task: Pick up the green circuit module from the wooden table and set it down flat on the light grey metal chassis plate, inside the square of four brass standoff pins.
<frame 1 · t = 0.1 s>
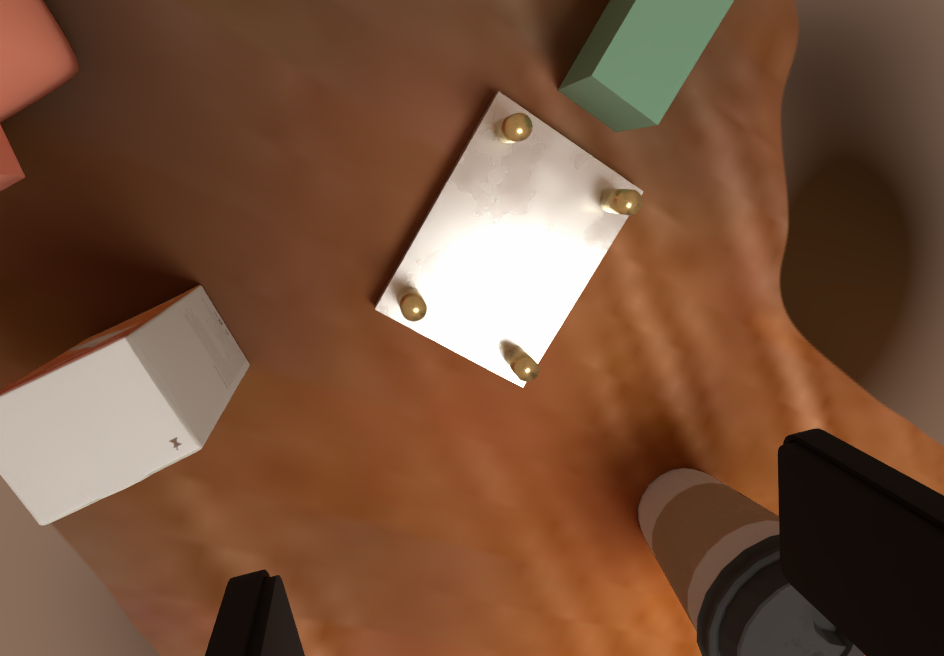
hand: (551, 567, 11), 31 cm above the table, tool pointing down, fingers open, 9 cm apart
small box: (171, 350, 39), on the table
chassis plate: (507, 247, 41), on the table
circuit module: (622, 51, 39), on the table
coffee cup: (675, 504, 49), on the table
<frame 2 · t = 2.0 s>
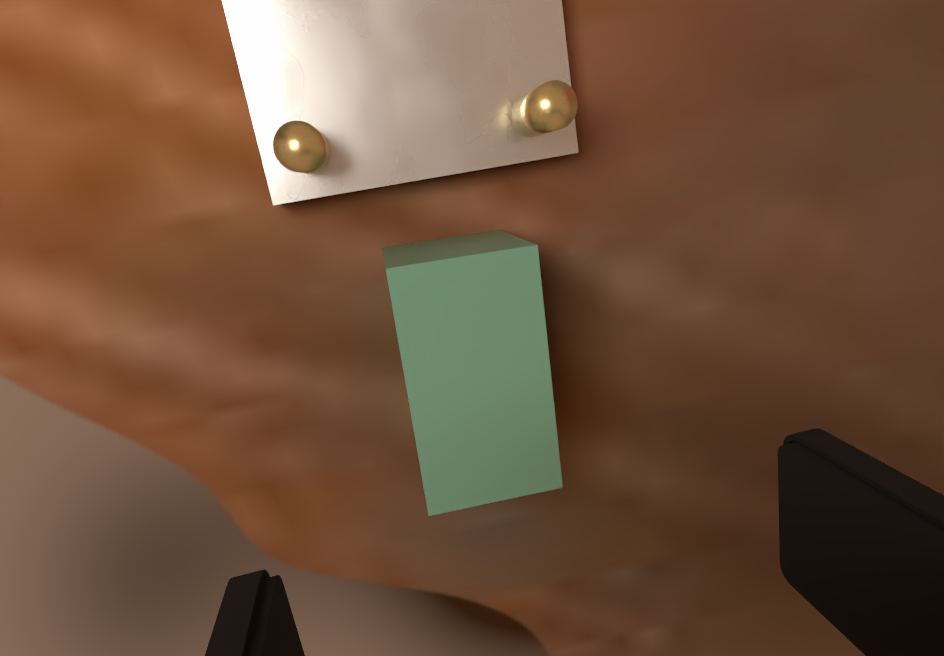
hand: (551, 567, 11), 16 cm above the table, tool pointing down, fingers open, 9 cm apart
circuit module: (456, 340, 26), on the table
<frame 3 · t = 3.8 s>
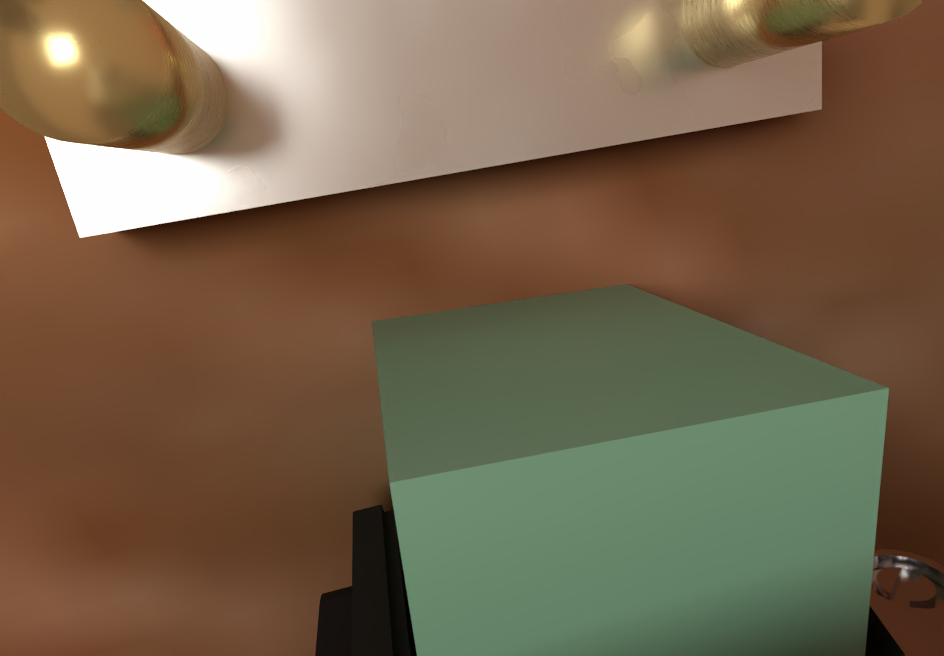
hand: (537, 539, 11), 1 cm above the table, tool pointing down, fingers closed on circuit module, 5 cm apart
circuit module: (523, 509, 12), on the table, touching gripper
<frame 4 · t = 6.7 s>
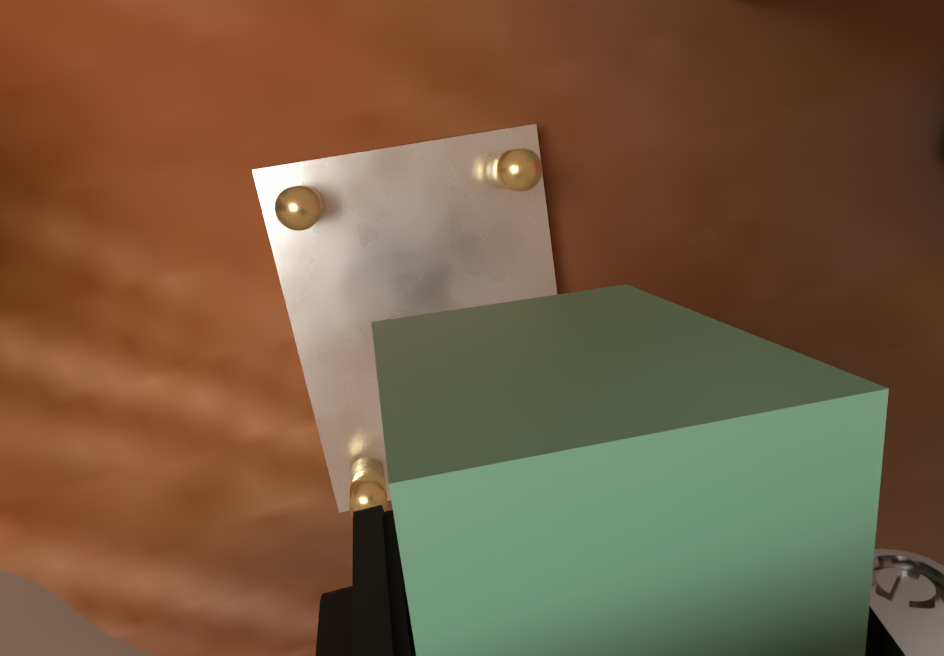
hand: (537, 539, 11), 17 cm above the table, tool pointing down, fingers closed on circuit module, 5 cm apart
chassis plate: (429, 322, 28), on the table
circuit module: (522, 509, 12), point 16 cm above the table, touching gripper
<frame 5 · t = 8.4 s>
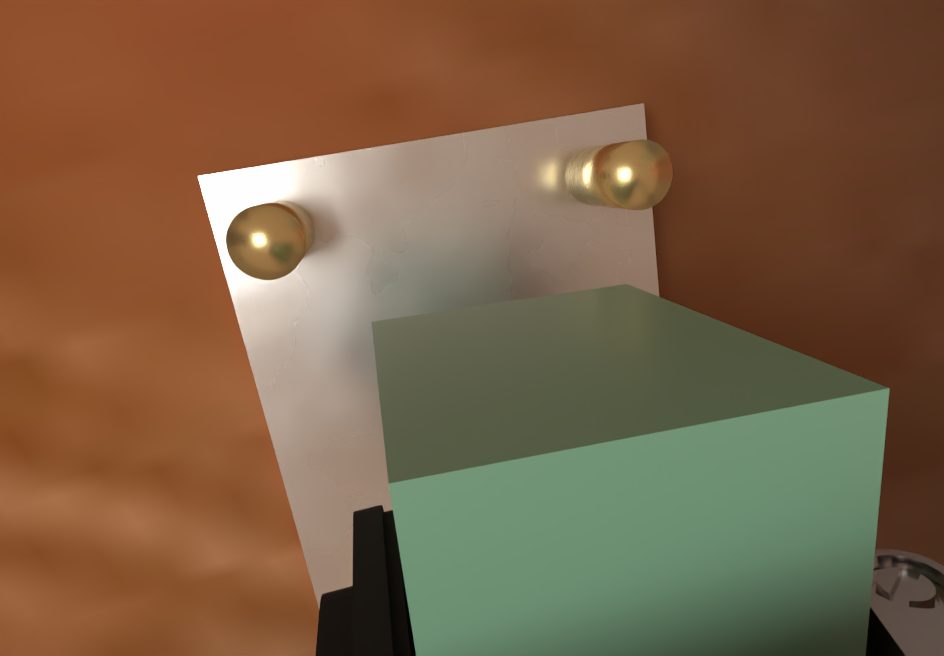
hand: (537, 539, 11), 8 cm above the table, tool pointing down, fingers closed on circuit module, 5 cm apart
chassis plate: (472, 399, 19), on the table
circuit module: (522, 509, 12), point 7 cm above the table, touching gripper
when the fingers open (4 cm above the table, at t = 9.6 s): circuit module drops 2 cm, resting on chassis plate.
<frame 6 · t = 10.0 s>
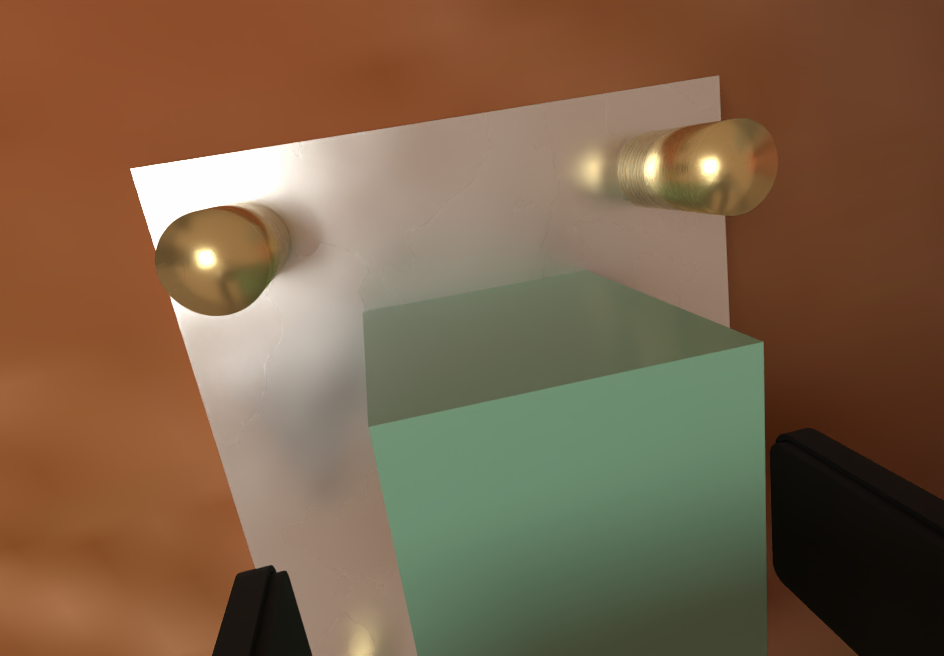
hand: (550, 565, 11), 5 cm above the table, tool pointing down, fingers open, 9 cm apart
chassis plate: (492, 449, 15), on the table
circuit module: (505, 473, 14), point 1 cm above the table, touching chassis plate
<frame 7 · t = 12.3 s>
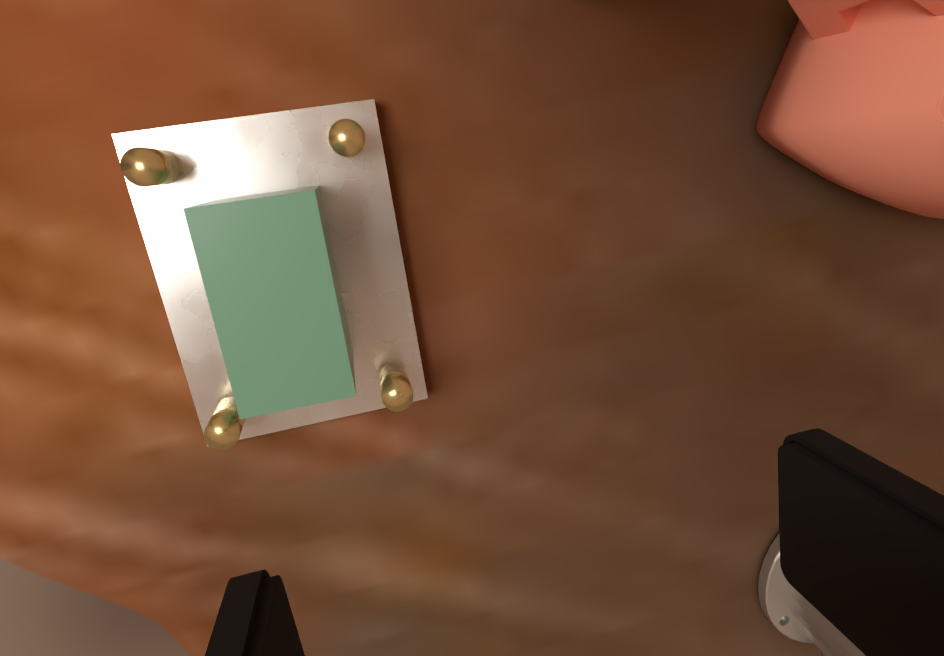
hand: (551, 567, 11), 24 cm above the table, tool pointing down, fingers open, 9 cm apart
teapot: (858, 90, 36), on the table
chassis plate: (289, 276, 31), on the table
circuit module: (287, 281, 30), point 1 cm above the table, touching chassis plate
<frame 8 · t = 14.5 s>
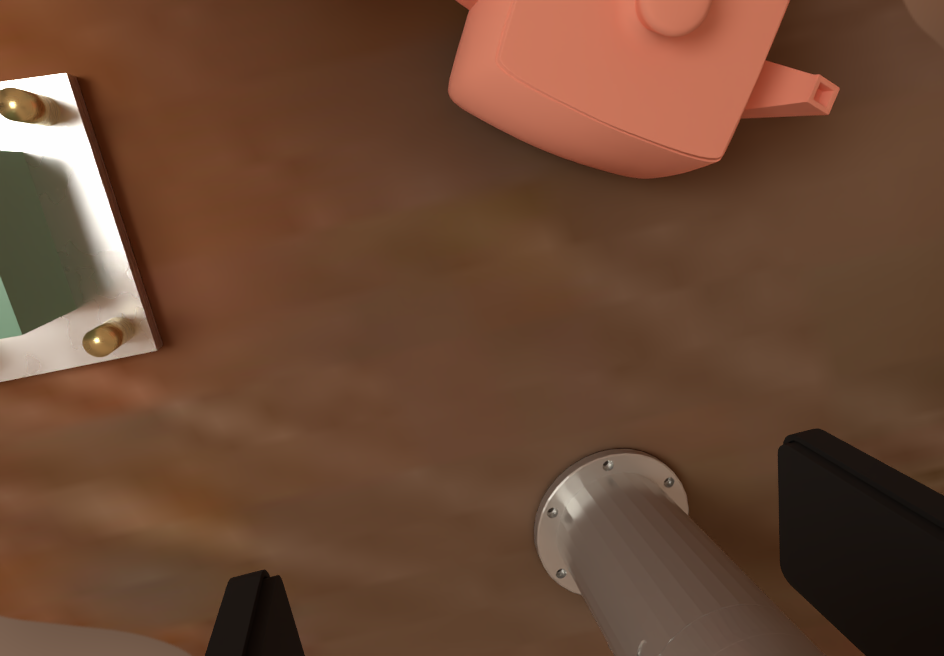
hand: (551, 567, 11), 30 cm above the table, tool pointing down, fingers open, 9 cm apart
teapot: (570, 61, 38), on the table
chassis plate: (14, 237, 34), on the table
circuit module: (3, 240, 33), point 1 cm above the table, touching chassis plate
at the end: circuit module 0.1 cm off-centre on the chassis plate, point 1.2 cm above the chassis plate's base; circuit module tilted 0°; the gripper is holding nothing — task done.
